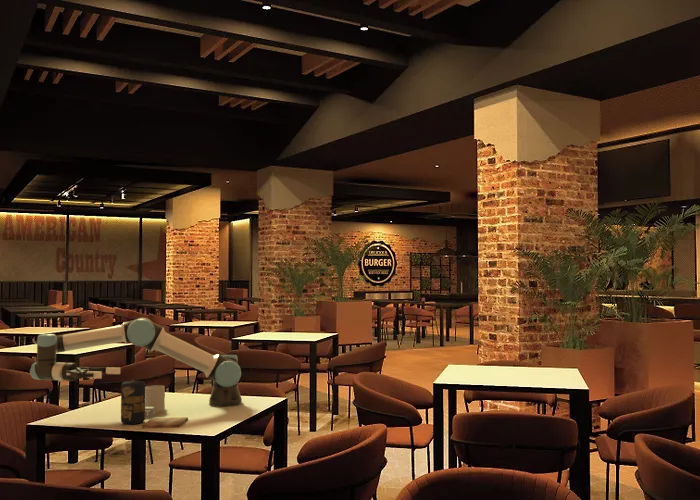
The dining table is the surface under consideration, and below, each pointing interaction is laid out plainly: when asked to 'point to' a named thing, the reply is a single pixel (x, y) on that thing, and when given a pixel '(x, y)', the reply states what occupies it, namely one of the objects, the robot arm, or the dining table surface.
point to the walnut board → (165, 422)
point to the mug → (155, 397)
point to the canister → (132, 402)
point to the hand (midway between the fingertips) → (110, 372)
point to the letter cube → (149, 412)
